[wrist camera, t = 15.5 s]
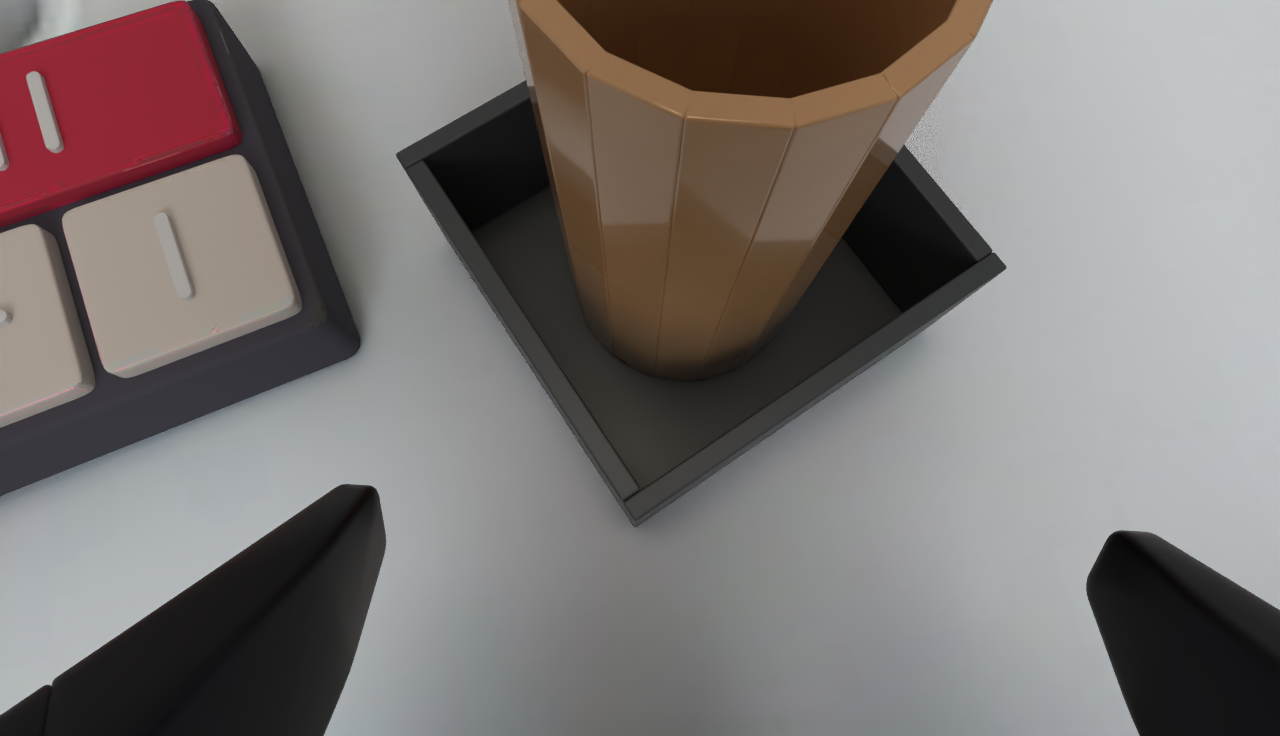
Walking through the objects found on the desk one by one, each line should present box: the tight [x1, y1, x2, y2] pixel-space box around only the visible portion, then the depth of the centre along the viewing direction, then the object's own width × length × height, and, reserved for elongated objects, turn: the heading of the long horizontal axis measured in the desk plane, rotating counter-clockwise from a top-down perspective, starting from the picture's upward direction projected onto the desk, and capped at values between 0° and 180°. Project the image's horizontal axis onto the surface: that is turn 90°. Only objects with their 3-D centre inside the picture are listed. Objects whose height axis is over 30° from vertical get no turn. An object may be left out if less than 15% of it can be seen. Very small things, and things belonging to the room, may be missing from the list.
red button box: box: [0, 0, 360, 496], centre depth 20 cm, size 11×4×15 cm
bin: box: [396, 81, 1006, 527], centre depth 20 cm, size 10×10×5 cm
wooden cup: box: [508, 0, 993, 381], centre depth 15 cm, size 6×6×13 cm
